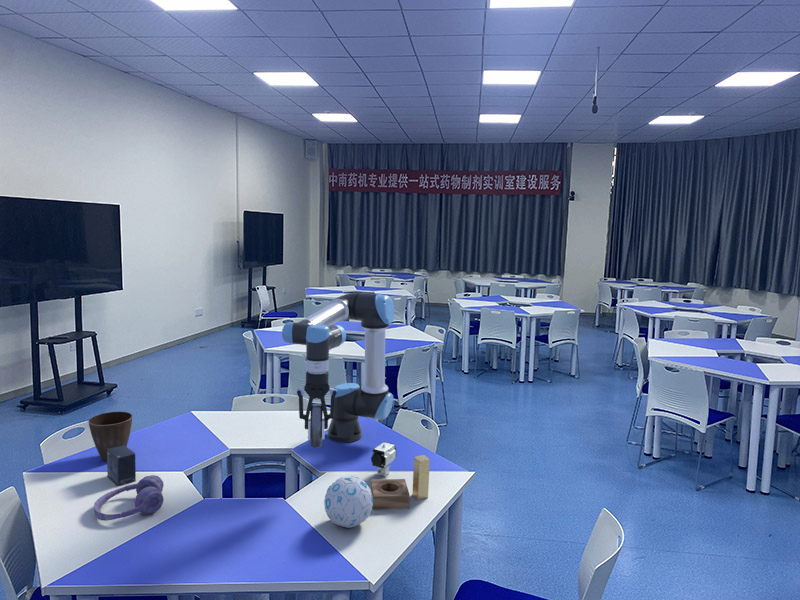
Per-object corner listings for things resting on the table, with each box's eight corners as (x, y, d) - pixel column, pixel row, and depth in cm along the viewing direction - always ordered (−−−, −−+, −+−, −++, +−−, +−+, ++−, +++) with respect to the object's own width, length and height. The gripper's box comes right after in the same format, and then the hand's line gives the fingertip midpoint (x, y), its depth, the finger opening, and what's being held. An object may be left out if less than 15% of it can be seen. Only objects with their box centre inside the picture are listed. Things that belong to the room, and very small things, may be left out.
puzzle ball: (328, 510, 179) (329, 466, 177) (374, 512, 179) (375, 469, 177) (320, 536, 164) (320, 489, 162) (370, 538, 164) (371, 491, 162)
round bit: (310, 442, 188) (310, 403, 186) (322, 442, 189) (322, 403, 187) (309, 447, 184) (310, 407, 183) (321, 447, 185) (322, 407, 183)
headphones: (165, 488, 188) (100, 507, 181) (161, 467, 187) (95, 484, 179) (165, 515, 172) (94, 536, 164) (160, 491, 170) (88, 512, 163)
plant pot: (95, 469, 201) (93, 428, 199) (86, 456, 212) (84, 416, 210) (138, 459, 211) (137, 419, 209) (127, 446, 222) (126, 408, 220)
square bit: (412, 494, 192) (414, 456, 190) (422, 492, 194) (424, 454, 192) (417, 499, 188) (419, 461, 186) (428, 497, 190) (429, 459, 188)
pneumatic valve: (369, 478, 202) (370, 447, 201) (385, 467, 213) (386, 437, 211) (382, 482, 200) (384, 451, 198) (398, 470, 210) (399, 440, 208)
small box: (137, 481, 194) (136, 452, 193) (118, 486, 189) (117, 458, 188) (125, 471, 201) (124, 443, 200) (106, 476, 197) (105, 448, 195)
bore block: (370, 491, 193) (371, 479, 192) (404, 490, 194) (404, 478, 194) (373, 509, 181) (373, 496, 180) (409, 508, 182) (409, 495, 182)
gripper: (290, 374, 178) (289, 442, 182) (342, 374, 180) (341, 442, 184) (292, 368, 186) (291, 433, 189) (342, 368, 188) (341, 433, 191)
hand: (316, 437), depth 186 cm, fingers closed on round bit, 4 cm apart
